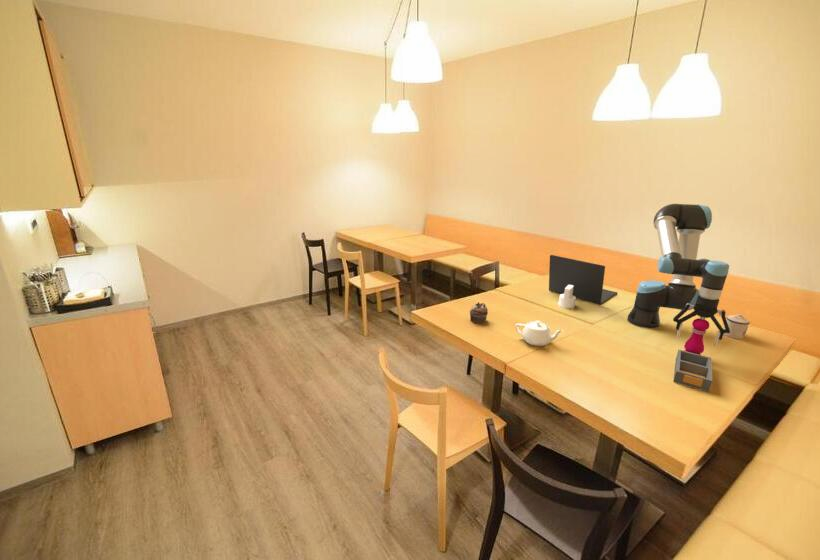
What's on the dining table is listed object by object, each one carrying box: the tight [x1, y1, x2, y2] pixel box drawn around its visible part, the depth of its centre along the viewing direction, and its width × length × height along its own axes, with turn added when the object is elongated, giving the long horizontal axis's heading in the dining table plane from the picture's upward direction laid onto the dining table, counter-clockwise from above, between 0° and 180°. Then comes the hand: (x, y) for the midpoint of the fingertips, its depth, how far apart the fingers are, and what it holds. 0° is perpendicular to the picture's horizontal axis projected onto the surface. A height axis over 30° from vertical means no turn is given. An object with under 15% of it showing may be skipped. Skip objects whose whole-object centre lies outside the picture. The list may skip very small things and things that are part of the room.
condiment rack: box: [673, 349, 713, 393], centre depth 156 cm, size 12×22×5 cm, turn 144°
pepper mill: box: [683, 316, 710, 355], centre depth 168 cm, size 7×7×20 cm
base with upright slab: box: [557, 285, 577, 310], centre depth 225 cm, size 9×9×12 cm
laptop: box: [548, 254, 618, 306], centre depth 244 cm, size 33×35×26 cm
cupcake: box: [469, 302, 488, 324], centre depth 203 cm, size 10×10×10 cm
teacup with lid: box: [723, 313, 751, 340], centre depth 192 cm, size 12×9×12 cm
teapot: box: [514, 320, 564, 347], centre depth 180 cm, size 22×14×11 cm, turn 65°
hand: (695, 340), depth 169 cm, fingers open, 13 cm apart
